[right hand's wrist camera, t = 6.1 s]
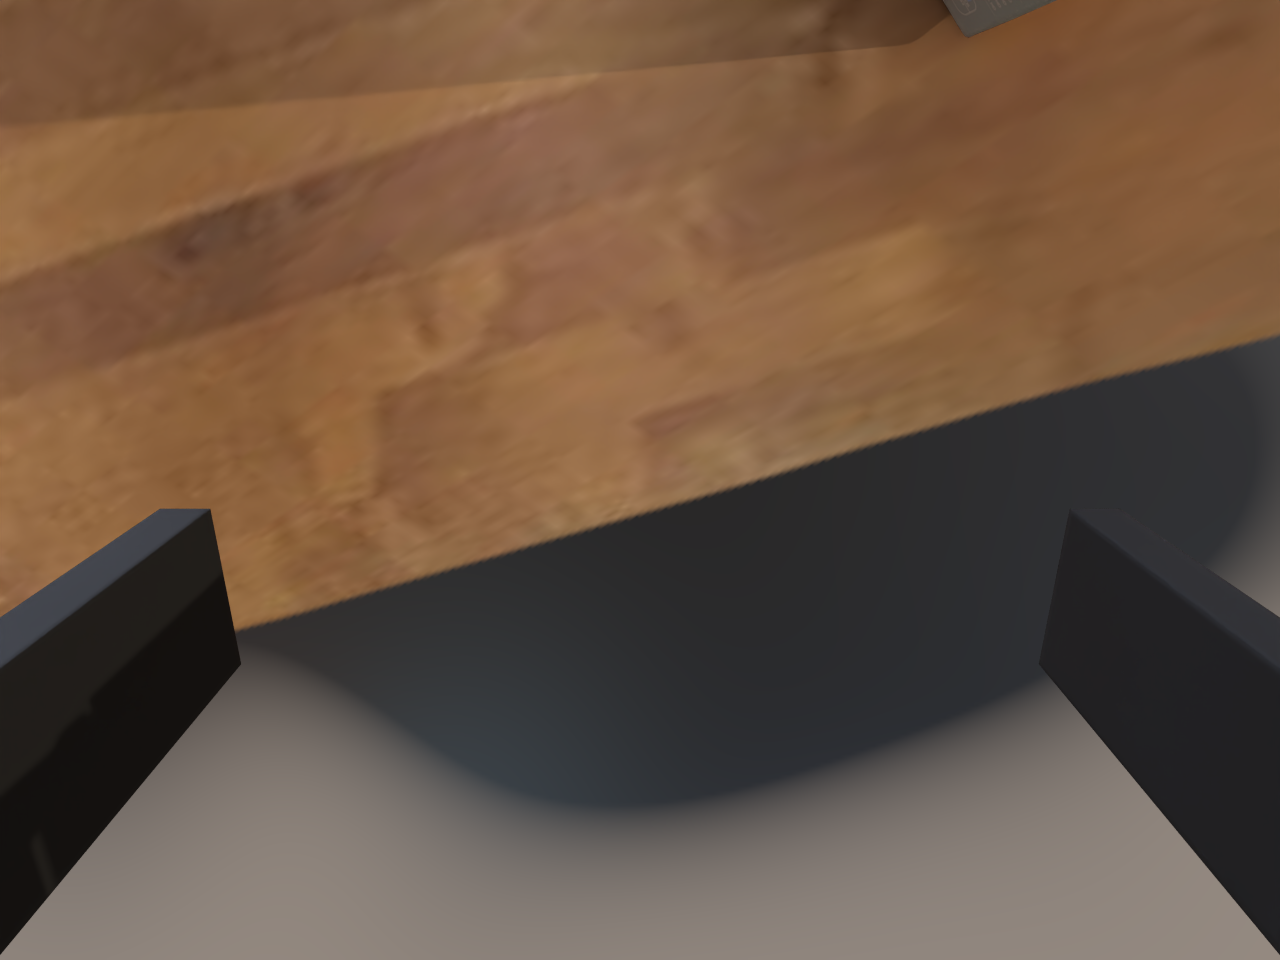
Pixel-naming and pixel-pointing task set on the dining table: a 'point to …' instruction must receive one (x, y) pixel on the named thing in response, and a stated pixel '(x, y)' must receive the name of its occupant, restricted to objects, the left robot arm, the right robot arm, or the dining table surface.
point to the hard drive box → (988, 12)
